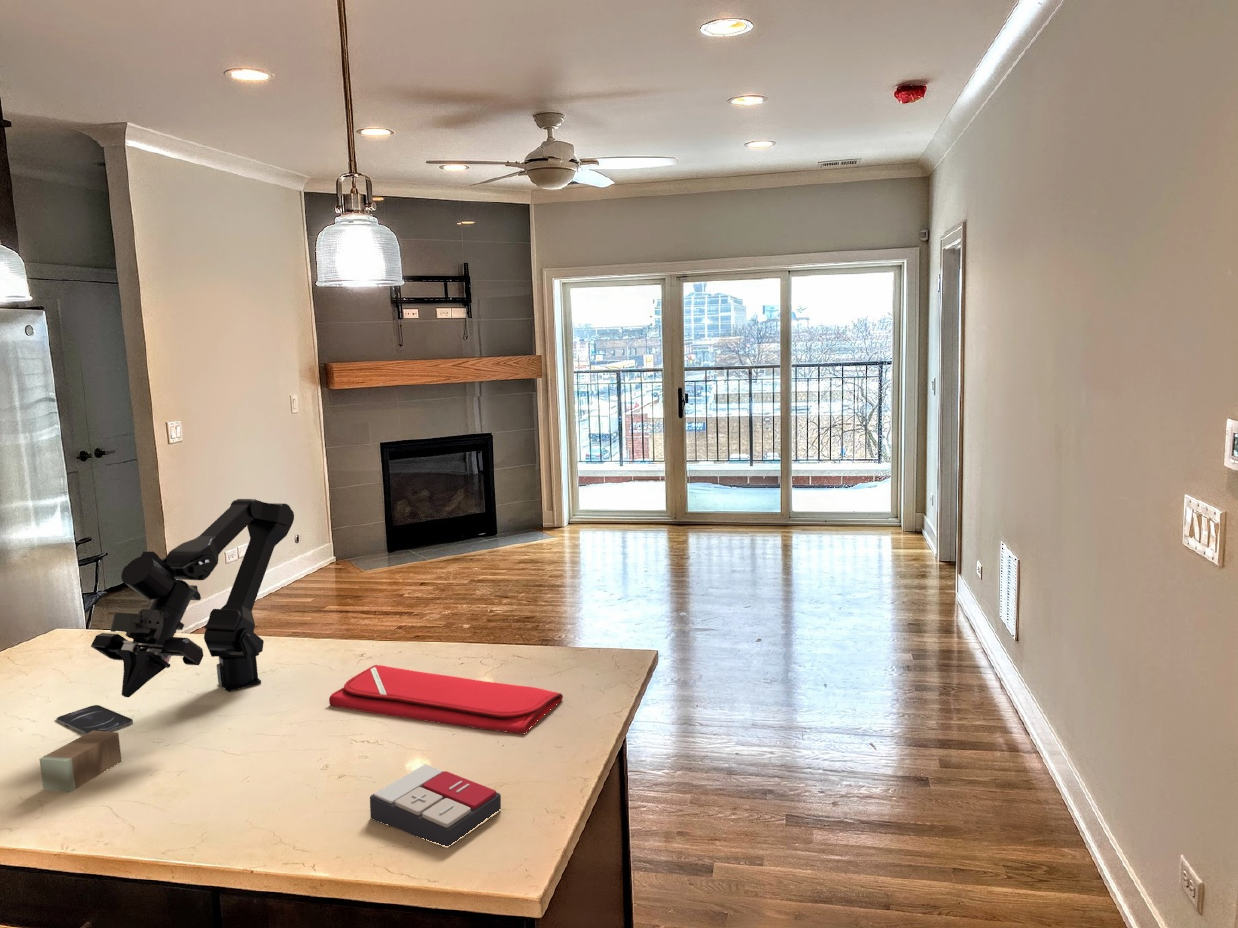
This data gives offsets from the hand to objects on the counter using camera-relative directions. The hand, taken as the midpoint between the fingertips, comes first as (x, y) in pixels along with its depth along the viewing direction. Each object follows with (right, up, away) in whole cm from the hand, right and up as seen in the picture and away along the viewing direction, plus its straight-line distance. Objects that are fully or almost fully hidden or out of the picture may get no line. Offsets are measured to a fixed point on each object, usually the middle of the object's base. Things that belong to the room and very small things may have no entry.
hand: (125, 696), depth 146 cm
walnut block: (-1, -7, -4) cm, 8 cm away
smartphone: (-13, -8, +12) cm, 20 cm away
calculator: (+57, -11, -23) cm, 63 cm away
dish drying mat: (+51, -6, +15) cm, 53 cm away
